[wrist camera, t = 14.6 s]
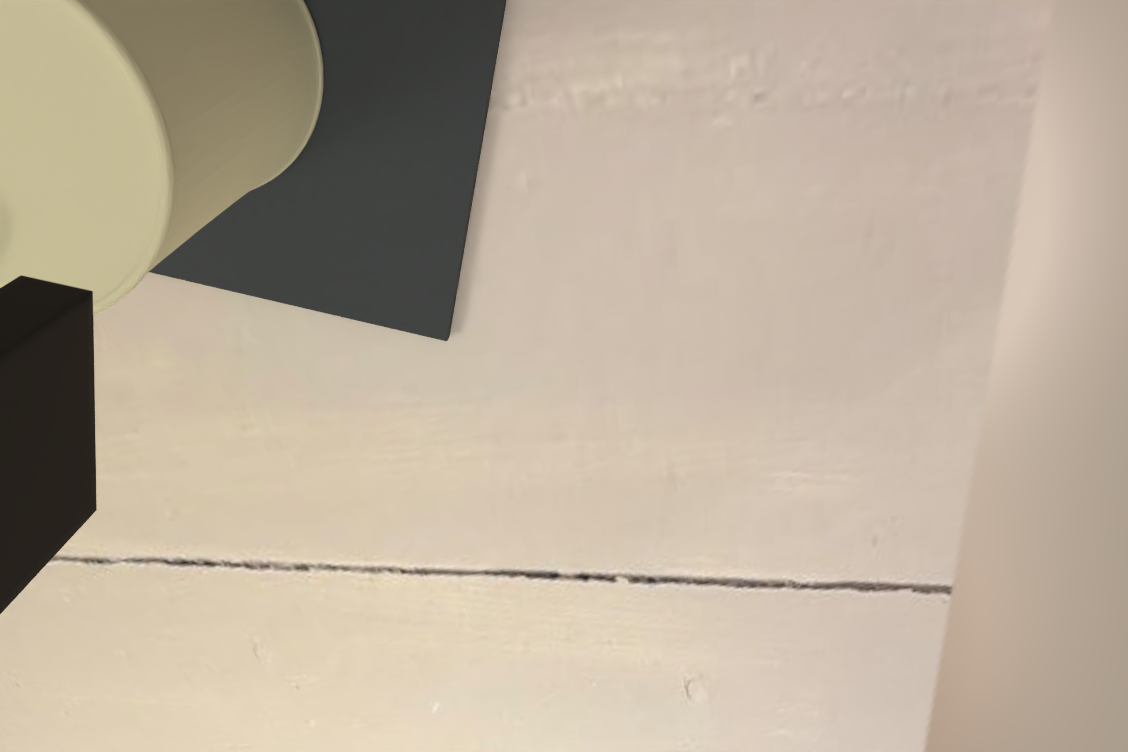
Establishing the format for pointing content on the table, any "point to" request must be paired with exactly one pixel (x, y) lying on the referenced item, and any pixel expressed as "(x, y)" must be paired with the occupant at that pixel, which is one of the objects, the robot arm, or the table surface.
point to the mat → (369, 172)
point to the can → (141, 127)
